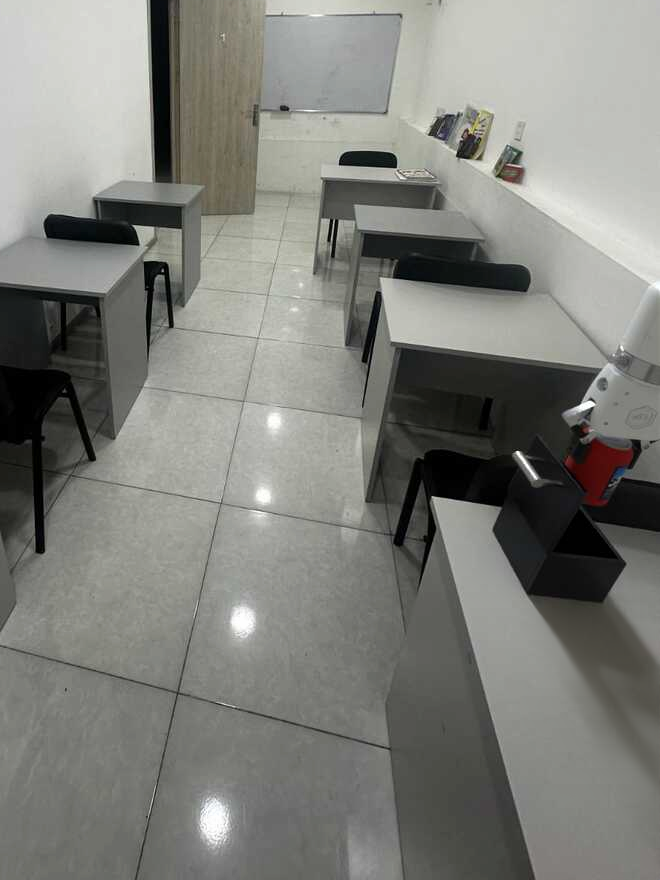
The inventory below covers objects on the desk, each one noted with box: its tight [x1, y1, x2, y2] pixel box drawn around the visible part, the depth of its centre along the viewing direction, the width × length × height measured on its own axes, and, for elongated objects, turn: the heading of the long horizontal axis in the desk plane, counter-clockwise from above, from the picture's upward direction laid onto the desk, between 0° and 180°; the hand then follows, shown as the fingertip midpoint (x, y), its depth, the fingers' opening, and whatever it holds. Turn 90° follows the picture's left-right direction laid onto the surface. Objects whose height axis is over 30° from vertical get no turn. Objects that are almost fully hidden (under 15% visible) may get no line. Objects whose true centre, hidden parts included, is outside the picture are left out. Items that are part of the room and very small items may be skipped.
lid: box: [506, 433, 588, 553], centre depth 79 cm, size 13×12×6 cm
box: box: [491, 492, 627, 604], centre depth 83 cm, size 12×12×10 cm
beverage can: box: [564, 426, 633, 507], centre depth 76 cm, size 7×7×12 cm
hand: (597, 459), depth 75 cm, fingers closed on beverage can, 6 cm apart
